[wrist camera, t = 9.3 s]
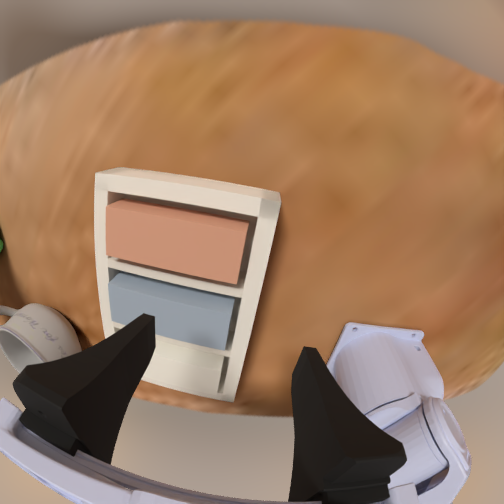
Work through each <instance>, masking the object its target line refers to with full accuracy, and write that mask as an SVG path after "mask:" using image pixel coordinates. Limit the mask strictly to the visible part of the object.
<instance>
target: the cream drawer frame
mask: <svg viewBox="0 0 504 504" xmlns="http://www.w3.org/2000/svg"><path fill="white" fill-rule="evenodd" d="M123 198H124V199H130V200H136V201H142V202H149V203H155V204H160V205H166V206H172V207H178V208H184V209H189V210H195V211H200V212H206V213H211V214H216V215H222V216H227V217H232V218H237V219H243V220H248V221H250V222H249V227H248V232H247V237H246V243H245V248H244V253H243V258H242V264H241V269H240V273H239V277H238V281H237V284H232V283H227V282H222V281H217V280H212V279H207V278H203V277H198V276H193V275H189V274H184V273H180V272H175V271H171V270H166V269H162V268H158V267H153V266H149V265H145V264H141V263H136V262H132V261H128V260H124V259H120V258H116V257H112V256H108V255H106V206H108V205H110V204H112V203H114V202H116V201H118V200H121V199H123ZM280 206H281V198H280V192H275V191H270V190H265V189H260V188H255V187H250V186H245V185H239V184H234V183H228V182H223V181H217V180H211V179H205V178H198V177H192V176H185V175H179V174H172V173H164V172H157V171H149V170H141V169H132V168H123V167H118V168H113V169H109V170H105V171H101V172H97V173H95V196H94V235H95V257H96V271H97V282H98V292H99V300H100V308H101V315H102V322H103V328H104V334H105V339H106V338H108V337H109V336H111V335H113V334H114V333H116V332H117V331H119V330H120V329H122V328H123V327H124V326H126V325H123V324H120V323H117V322H114V321H112V319H111V311H110V302H109V291H108V283H109V282H110V281H111V280H112V279H113V278H114V277H115V276H116V275H117V274H118V273H119V272H120V271H125V272H129V273H133V274H137V275H141V276H145V277H149V278H153V279H157V280H162V281H166V282H170V283H174V284H179V285H183V286H187V287H192V288H196V289H201V290H206V291H210V292H215V293H220V294H225V295H229V296H234V297H235V301H234V306H233V312H232V317H231V323H230V328H229V333H228V338H227V342H226V347H225V351H223V350H218V349H214V348H209V347H205V346H200V345H196V344H192V343H187V342H183V341H179V340H175V339H172V338H168V337H164V336H160V335H157V334H155V338H156V340H159V341H163V342H167V343H170V344H174V345H178V346H182V347H186V348H190V349H195V350H199V351H203V352H208V353H212V354H217V355H222V356H224V361H223V367H222V372H221V377H220V382H219V387H218V392H217V395H212V394H208V393H203V392H199V391H194V390H190V389H186V388H182V387H178V386H175V385H171V384H167V383H164V382H160V381H157V380H153V379H150V378H147V377H144V376H143V377H142V379H141V380H144V381H147V382H150V383H153V384H157V385H160V386H164V387H167V388H171V389H175V390H178V391H182V392H186V393H190V394H194V395H199V396H203V397H208V398H212V399H217V400H222V401H227V402H234V398H235V394H236V390H237V387H238V383H239V379H240V375H241V371H242V367H243V363H244V359H245V355H246V351H247V347H248V343H249V339H250V335H251V330H252V326H253V322H254V318H255V314H256V310H257V306H258V301H259V297H260V293H261V289H262V285H263V280H264V276H265V272H266V268H267V263H268V259H269V255H270V250H271V246H272V241H273V237H274V233H275V228H276V224H277V219H278V215H279V210H280Z"/></svg>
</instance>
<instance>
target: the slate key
mask: <svg viewBox="0 0 504 504" xmlns="http://www.w3.org/2000/svg"><path fill="white" fill-rule="evenodd" d="M108 291H109V302H110V311H111V319H112V321H114V322H117V323H120V324H123V325H127V324H129V323H130V322H132V321H133V320H134V319H136V318H137V317H139V316H140V315H142V314H143V313H145V314H148V315H152V316H155V334H157V335H160V336H164V337H168V338H172V339H175V340H179V341H183V342H187V343H192V344H196V345H200V346H205V347H209V348H214V349H218V350H223V351H225V347H226V342H227V338H228V333H229V328H230V323H231V317H232V312H233V306H234V301H235V297H234V296H229V295H225V294H220V293H215V292H210V291H206V290H201V289H196V288H192V287H187V286H183V285H179V284H174V283H170V282H166V281H162V280H157V279H153V278H149V277H145V276H141V275H137V274H133V273H129V272H125V271H120V272H119V273H118V274H117V275H116V276H115V277H114V278H113V279H112V280H111V281H110V282H109V283H108Z"/></svg>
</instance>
